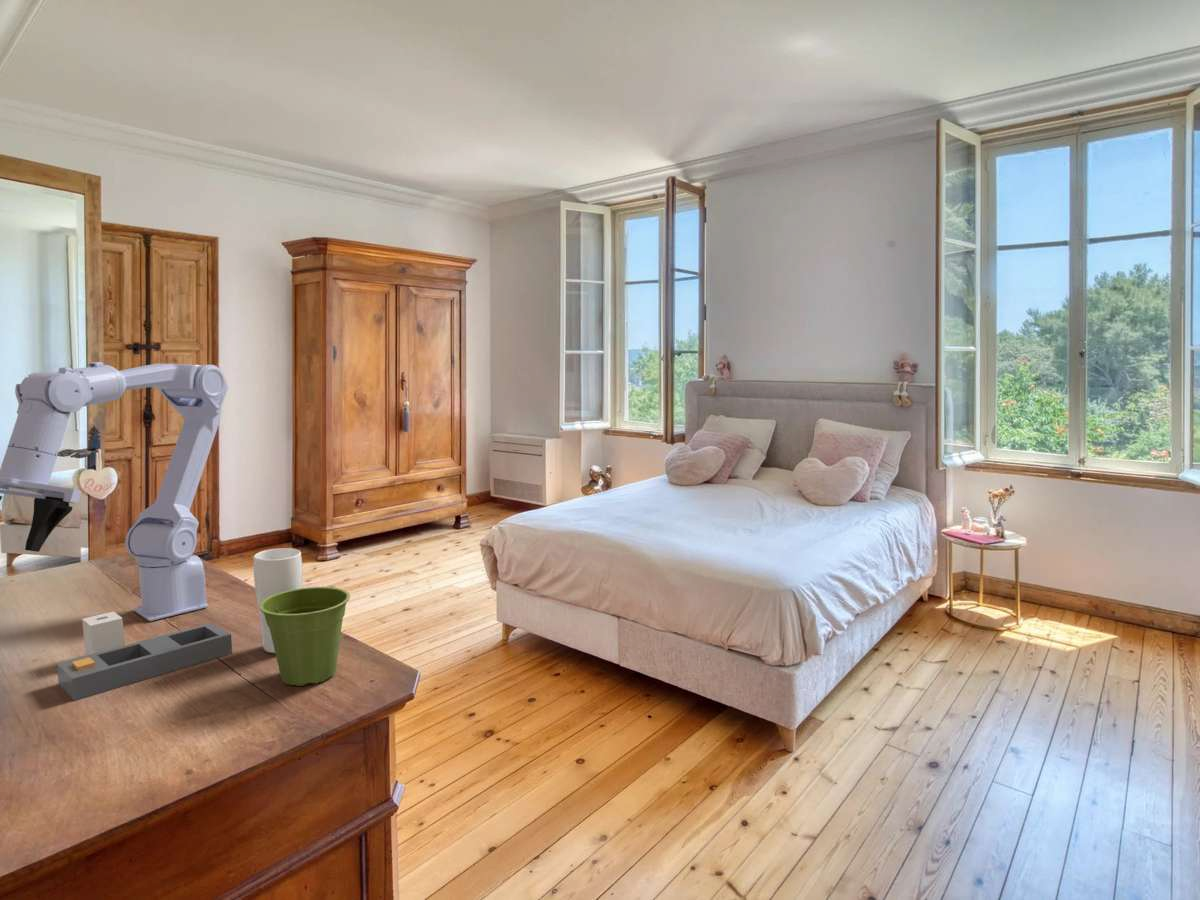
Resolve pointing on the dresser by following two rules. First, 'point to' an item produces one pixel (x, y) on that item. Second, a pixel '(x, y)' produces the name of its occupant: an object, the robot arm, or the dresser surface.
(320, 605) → the plant pot
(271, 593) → the white tall hollow cylinder
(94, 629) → the block
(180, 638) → the power strip
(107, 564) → the dresser surface
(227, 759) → the dresser surface
